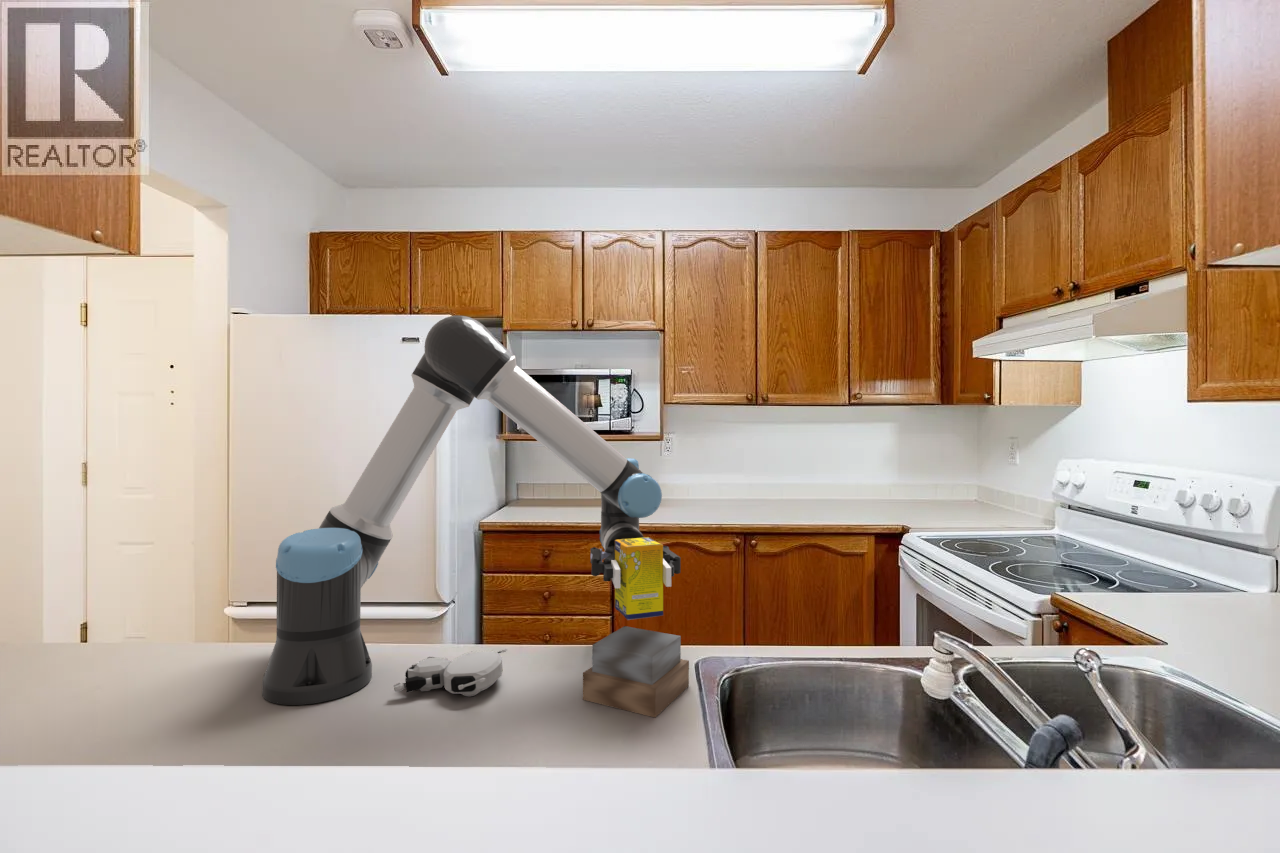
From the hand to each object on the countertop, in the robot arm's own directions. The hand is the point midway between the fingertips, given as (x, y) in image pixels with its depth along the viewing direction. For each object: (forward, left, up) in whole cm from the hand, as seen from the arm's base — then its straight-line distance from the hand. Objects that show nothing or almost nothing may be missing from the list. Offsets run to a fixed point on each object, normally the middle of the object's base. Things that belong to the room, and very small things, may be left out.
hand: (643, 578), depth 90 cm
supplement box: (-3, +4, -7) cm, 8 cm away
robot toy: (-29, -8, -19) cm, 36 cm away
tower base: (-3, +4, -19) cm, 19 cm away
